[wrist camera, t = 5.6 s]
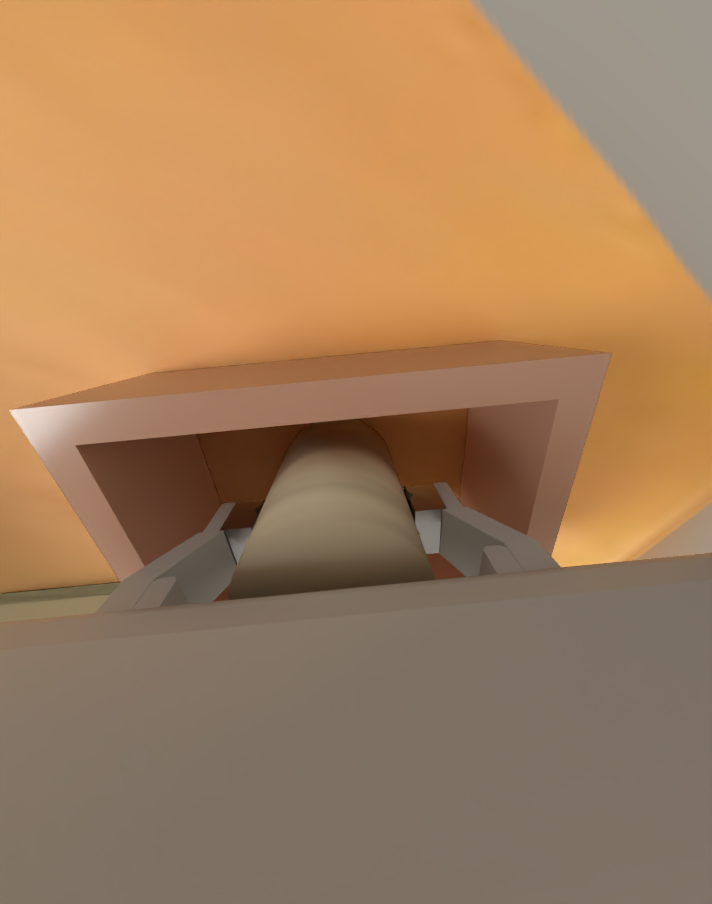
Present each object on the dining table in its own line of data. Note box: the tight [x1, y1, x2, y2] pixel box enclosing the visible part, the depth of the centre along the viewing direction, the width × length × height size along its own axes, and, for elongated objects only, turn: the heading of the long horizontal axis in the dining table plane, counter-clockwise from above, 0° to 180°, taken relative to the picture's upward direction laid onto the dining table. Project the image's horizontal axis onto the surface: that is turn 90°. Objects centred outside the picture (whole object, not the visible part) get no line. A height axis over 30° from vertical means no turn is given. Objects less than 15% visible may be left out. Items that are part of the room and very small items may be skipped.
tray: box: [0, 582, 121, 622], centre depth 18 cm, size 16×16×2 cm
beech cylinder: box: [229, 419, 435, 600], centre depth 10 cm, size 5×5×7 cm
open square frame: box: [9, 341, 612, 602], centre depth 11 cm, size 10×14×5 cm
